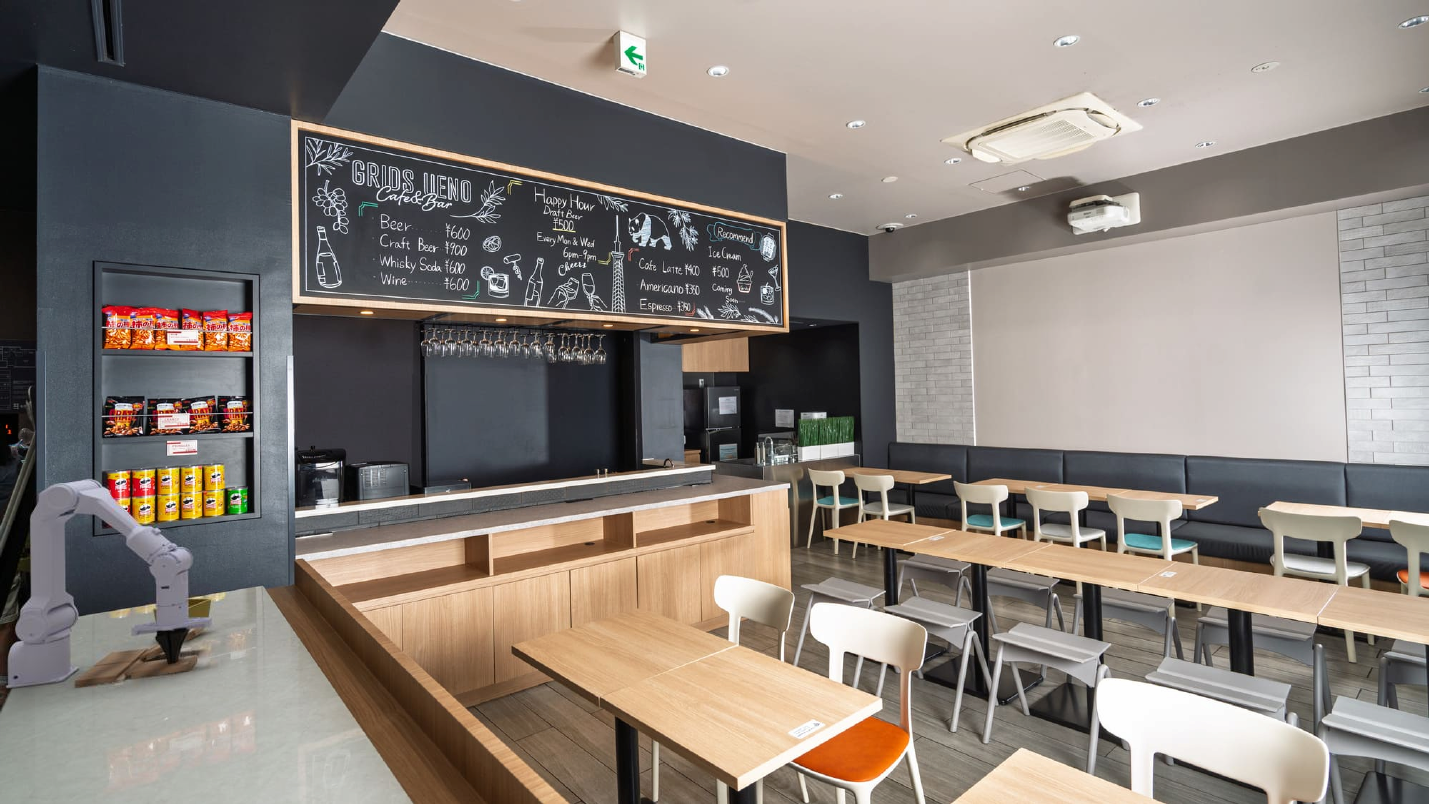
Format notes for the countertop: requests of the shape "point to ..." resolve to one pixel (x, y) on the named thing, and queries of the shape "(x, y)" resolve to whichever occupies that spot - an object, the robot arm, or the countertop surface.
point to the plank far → (158, 650)
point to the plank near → (161, 667)
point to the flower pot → (195, 608)
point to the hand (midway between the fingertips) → (173, 662)
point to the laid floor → (111, 668)
